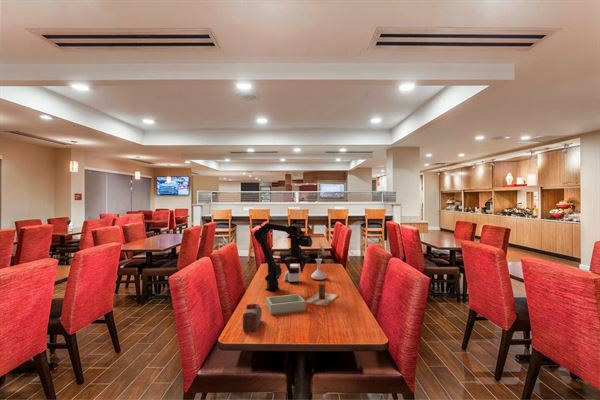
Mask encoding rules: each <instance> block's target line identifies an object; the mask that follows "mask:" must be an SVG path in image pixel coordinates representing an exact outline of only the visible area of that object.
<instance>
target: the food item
mask: <svg viewBox="0 0 600 400" xmlns="http://www.w3.org/2000/svg"><path fill="white" fill-rule="evenodd" d="M262 308H263V307H261V306H260V304H258V303H253V302H252V303H247V304H246V306H245V308H244V311H243V314H242V330H243V332H245V333H247V332H248V333H249V332H251V333H252V332H257V331H258V327H259V326H260V323H261V319H262V313H263V312H262Z"/></svg>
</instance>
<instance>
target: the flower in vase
mask: <svg viewBox="0 0 600 400" xmlns="http://www.w3.org/2000/svg"><path fill="white" fill-rule="evenodd" d="M318 247H319V250H318V251H317V258H315V259H314V260H315V261H316V267H317V268H316V270H315V271H314V272H312V273H311V275H310V278H312V279H314V280H318V281H319V280H321V281H322V280H326V279H327V278H328V276H327V274H326V273H325V272H324V271H323V270H322V268H321V263H322V261H323V258H320V257H321V256H322V255H321V254H320V250H321V251H322V252H323V253H325V252H326V251H325V248H324V246H323V245H322V243H320V242H319V243H318Z"/></svg>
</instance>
